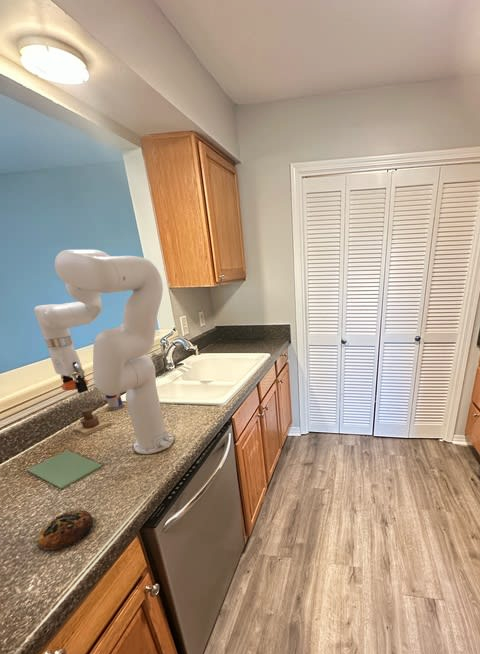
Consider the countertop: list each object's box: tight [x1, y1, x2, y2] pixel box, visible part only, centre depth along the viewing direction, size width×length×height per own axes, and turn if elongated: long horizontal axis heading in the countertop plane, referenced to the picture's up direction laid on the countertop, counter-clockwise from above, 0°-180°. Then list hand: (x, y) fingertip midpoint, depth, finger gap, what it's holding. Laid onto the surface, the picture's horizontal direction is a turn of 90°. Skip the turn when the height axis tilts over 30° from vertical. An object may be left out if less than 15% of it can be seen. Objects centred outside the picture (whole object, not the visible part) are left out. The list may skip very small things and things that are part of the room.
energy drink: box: [104, 393, 124, 411], centre depth 140 cm, size 5×5×12 cm
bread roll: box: [36, 509, 93, 551], centre depth 75 cm, size 11×11×5 cm
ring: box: [61, 378, 89, 391], centre depth 116 cm, size 8×8×1 cm
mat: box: [26, 449, 103, 490], centre depth 100 cm, size 20×12×1 cm, turn 61°
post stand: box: [72, 407, 111, 436], centre depth 124 cm, size 9×9×8 cm
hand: (77, 389), depth 117 cm, fingers closed on ring, 7 cm apart
